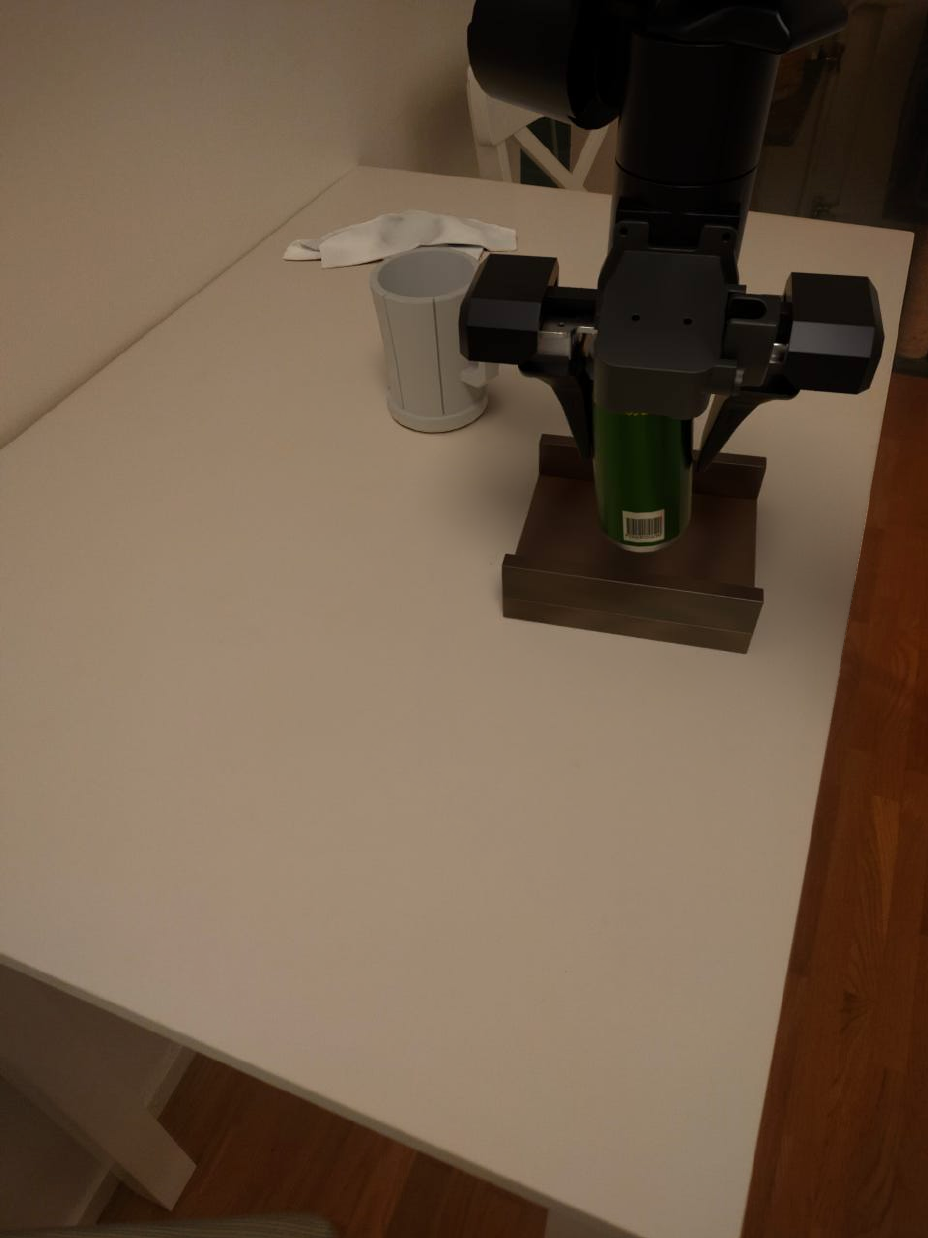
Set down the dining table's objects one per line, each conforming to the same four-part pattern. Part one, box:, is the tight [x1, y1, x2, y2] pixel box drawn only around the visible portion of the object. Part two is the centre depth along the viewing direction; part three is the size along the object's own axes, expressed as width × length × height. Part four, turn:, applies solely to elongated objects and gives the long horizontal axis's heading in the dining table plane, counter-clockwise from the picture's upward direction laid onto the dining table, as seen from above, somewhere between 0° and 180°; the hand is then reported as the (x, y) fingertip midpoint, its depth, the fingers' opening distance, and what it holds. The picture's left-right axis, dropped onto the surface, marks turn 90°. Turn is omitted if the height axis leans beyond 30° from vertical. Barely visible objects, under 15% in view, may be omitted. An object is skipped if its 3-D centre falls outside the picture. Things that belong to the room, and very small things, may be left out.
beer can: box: [585, 334, 695, 552], centre depth 44 cm, size 5×5×12 cm
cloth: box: [282, 208, 518, 270], centre depth 92 cm, size 26×14×2 cm, turn 80°
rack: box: [500, 433, 768, 655], centre depth 57 cm, size 16×14×5 cm
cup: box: [368, 247, 500, 434], centre depth 67 cm, size 10×9×12 cm
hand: (642, 461), depth 45 cm, fingers closed on beer can, 6 cm apart
